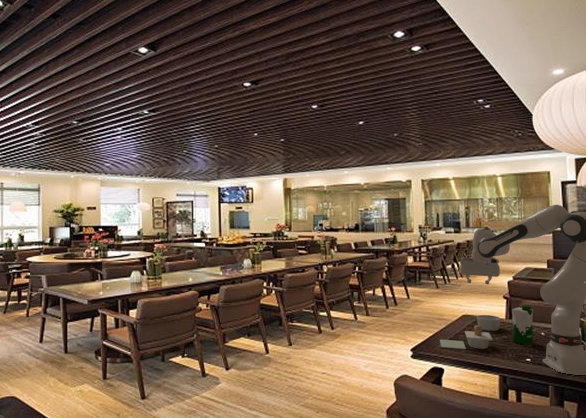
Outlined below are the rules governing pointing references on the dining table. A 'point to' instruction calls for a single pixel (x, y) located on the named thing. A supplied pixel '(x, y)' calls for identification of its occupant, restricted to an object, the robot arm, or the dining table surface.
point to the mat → (452, 344)
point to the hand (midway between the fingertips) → (478, 283)
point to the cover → (478, 334)
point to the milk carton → (522, 325)
